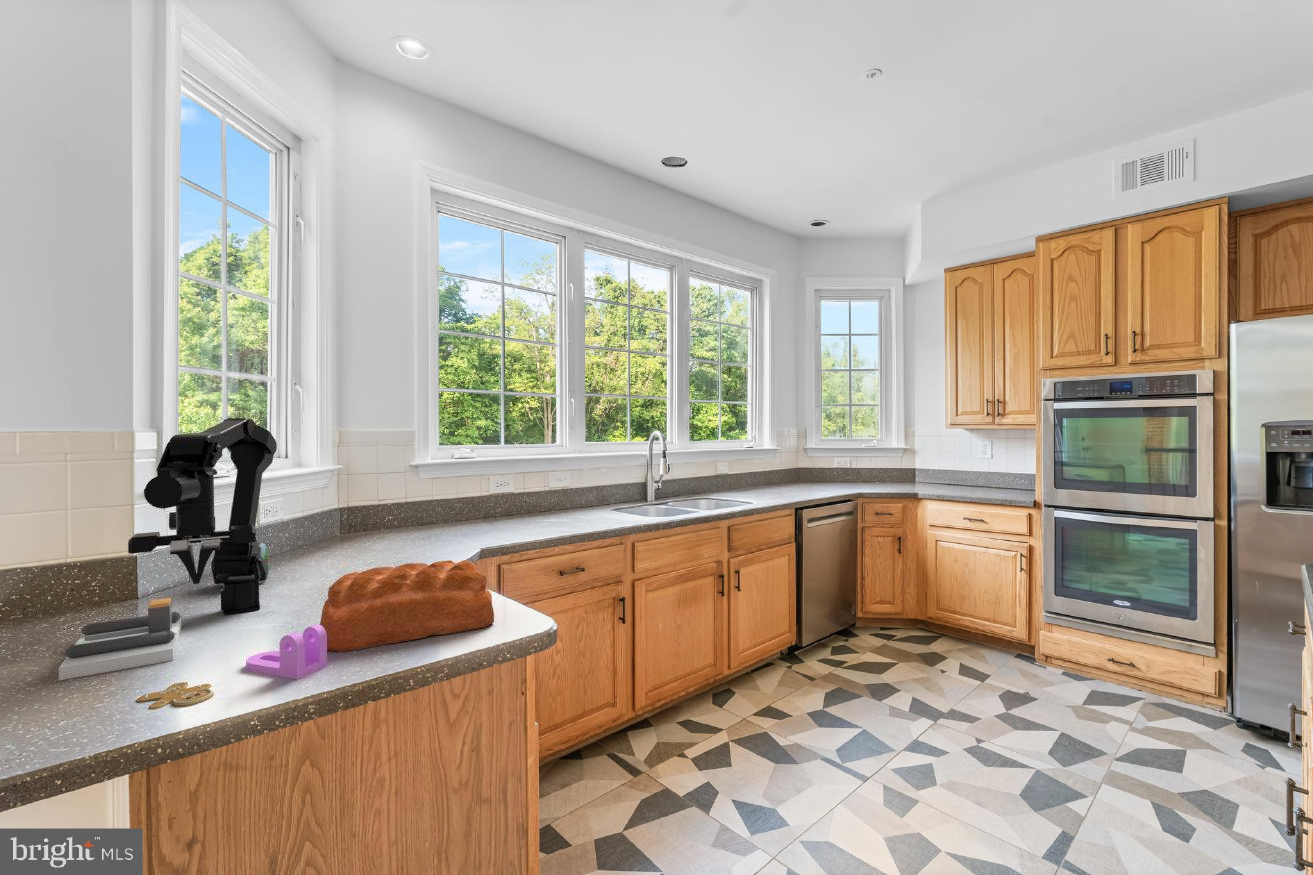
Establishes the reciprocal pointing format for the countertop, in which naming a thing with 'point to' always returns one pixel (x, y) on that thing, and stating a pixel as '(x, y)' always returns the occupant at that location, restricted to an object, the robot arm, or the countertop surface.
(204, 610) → the countertop surface
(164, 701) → the cookie
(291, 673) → the bracket
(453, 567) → the bread
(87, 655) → the panel
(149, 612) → the toggle
